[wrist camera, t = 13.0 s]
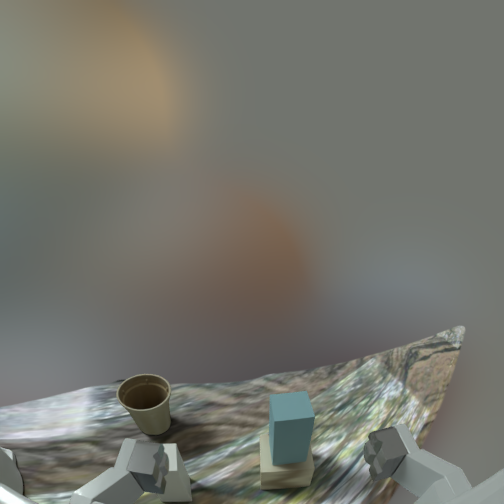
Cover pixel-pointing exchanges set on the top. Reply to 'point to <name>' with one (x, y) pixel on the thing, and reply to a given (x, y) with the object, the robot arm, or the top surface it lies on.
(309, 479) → the birch block
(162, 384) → the flower pot
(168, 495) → the white block
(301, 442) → the teal block
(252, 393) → the top surface
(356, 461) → the top surface
